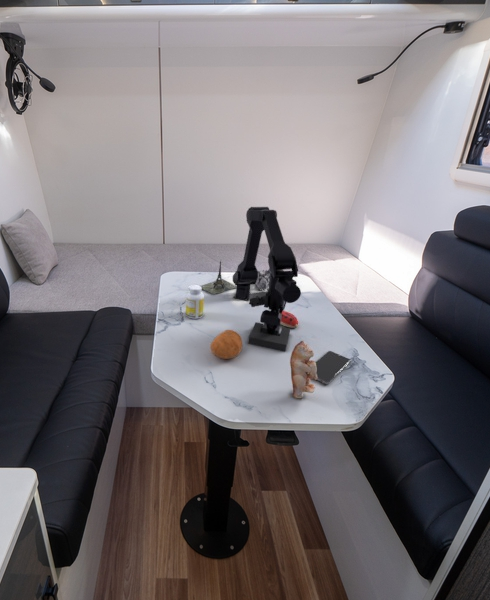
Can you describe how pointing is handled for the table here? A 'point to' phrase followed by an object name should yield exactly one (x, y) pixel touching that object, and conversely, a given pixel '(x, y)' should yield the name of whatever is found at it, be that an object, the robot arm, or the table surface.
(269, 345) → the notched pad
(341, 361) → the smartphone
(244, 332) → the table surface
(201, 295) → the pill bottle
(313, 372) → the figurine
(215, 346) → the potato
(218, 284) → the eiffel tower figurine
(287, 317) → the ladybug figurine
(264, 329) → the black block
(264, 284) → the mineral specimen
